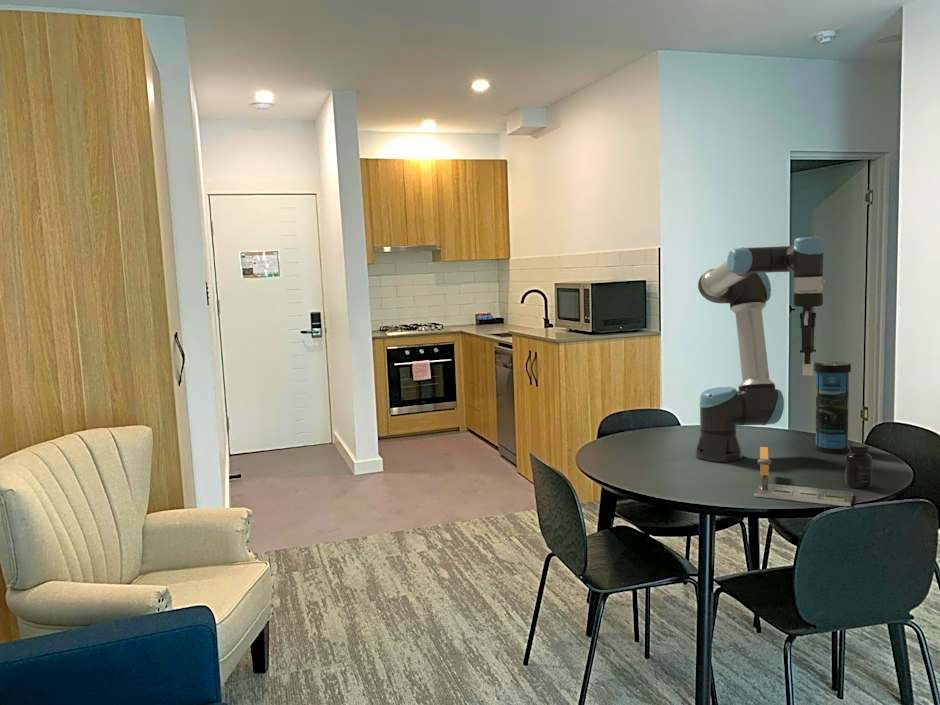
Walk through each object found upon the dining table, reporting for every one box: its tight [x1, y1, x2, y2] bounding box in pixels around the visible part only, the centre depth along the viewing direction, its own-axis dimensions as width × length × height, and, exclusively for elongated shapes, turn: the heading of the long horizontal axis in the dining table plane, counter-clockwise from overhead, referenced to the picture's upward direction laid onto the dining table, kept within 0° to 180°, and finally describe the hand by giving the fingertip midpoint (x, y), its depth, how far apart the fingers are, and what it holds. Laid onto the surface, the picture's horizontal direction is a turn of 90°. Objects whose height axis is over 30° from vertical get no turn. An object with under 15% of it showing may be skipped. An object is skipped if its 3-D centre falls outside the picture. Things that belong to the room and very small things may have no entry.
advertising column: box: [813, 361, 852, 454], centre depth 252 cm, size 11×11×30 cm
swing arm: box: [757, 446, 772, 476], centre depth 217 cm, size 22×4×4 cm, turn 159°
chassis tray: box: [753, 475, 854, 507], centre depth 204 cm, size 24×11×5 cm, turn 60°
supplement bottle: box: [844, 442, 873, 490], centre depth 211 cm, size 7×7×12 cm
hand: (807, 374), depth 210 cm, fingers closed
